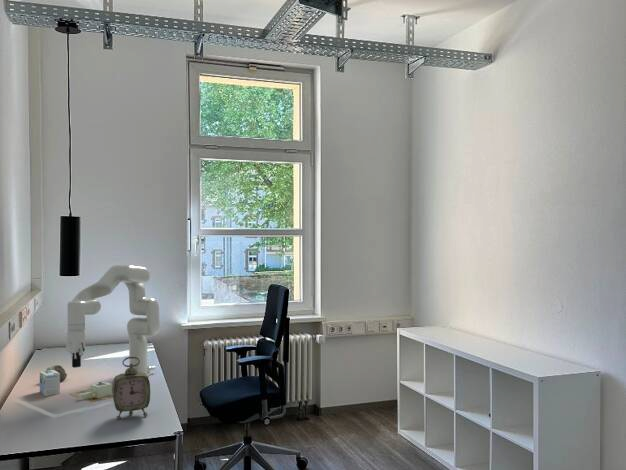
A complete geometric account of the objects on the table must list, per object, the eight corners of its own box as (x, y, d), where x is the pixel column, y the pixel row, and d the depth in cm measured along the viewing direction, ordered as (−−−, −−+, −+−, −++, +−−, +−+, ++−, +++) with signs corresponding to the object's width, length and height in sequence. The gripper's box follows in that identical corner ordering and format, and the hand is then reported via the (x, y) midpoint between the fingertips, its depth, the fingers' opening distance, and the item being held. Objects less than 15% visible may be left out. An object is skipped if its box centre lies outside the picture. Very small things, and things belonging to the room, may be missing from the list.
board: (110, 387, 284) (110, 384, 284) (134, 394, 269) (134, 392, 269) (67, 396, 267) (67, 394, 267) (91, 405, 253) (91, 402, 253)
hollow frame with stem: (104, 392, 270) (104, 381, 270) (111, 394, 265) (111, 384, 265) (75, 398, 259) (75, 387, 259) (83, 401, 255) (83, 390, 255)
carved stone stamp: (56, 383, 289) (48, 366, 290) (43, 390, 291) (35, 373, 292) (71, 377, 300) (63, 360, 301) (58, 384, 302) (50, 368, 303)
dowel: (94, 398, 259) (94, 393, 259) (96, 399, 258) (96, 393, 258) (92, 399, 258) (92, 393, 258) (93, 399, 257) (93, 394, 257)
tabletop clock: (113, 421, 230) (113, 360, 230) (112, 415, 238) (112, 356, 238) (150, 417, 235) (150, 357, 236) (147, 411, 244) (147, 353, 244)
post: (101, 394, 266) (101, 381, 266) (103, 395, 265) (103, 382, 265) (97, 395, 265) (97, 382, 265) (99, 395, 263) (99, 383, 263)
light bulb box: (39, 393, 272) (39, 371, 272) (54, 391, 277) (53, 369, 277) (45, 398, 264) (45, 375, 264) (60, 395, 268) (60, 373, 269)
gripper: (60, 326, 265) (60, 366, 265) (76, 330, 255) (76, 370, 255) (76, 324, 270) (76, 363, 270) (92, 328, 261) (92, 367, 260)
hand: (76, 366), depth 263 cm, fingers closed
